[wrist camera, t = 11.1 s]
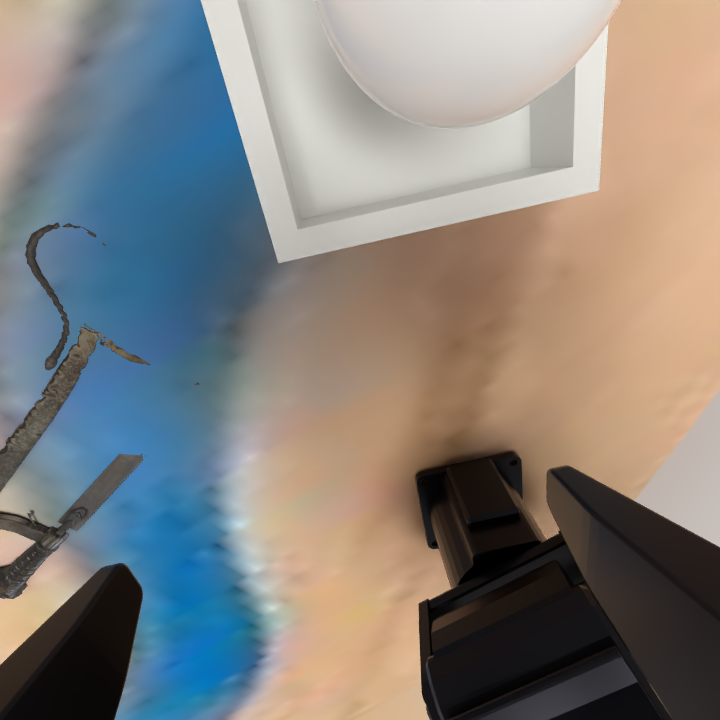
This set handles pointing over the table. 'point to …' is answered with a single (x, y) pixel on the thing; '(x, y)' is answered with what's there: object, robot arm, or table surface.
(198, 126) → the table surface
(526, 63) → the lightbulb
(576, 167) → the tray
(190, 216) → the table surface
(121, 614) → the robot arm
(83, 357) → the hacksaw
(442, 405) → the table surface
